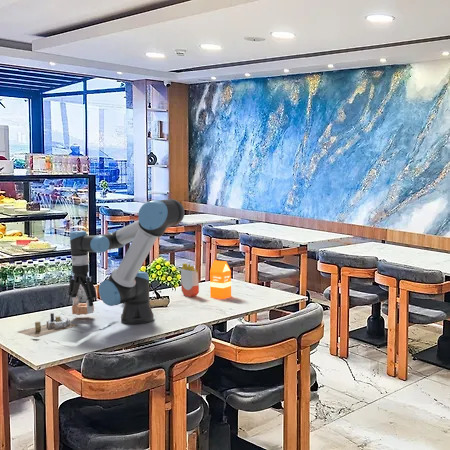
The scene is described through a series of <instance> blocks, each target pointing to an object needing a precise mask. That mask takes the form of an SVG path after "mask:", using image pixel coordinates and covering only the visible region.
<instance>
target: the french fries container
mask: <svg viewBox="0 0 450 450" xmlns="http://www.w3.org/2000/svg"><path fill="white" fill-rule="evenodd" d="M180 274H181V275H180V276H181V277H180V279H181V284H180V286H181V287H180V289H181V292H182V294H183V295H185V297H189V298H192V297H197V295H198V294H199V292H200V290H199V289H200V285H199V269H195V266H194V265H191V264H188V263H182V267H181V268H180Z"/></svg>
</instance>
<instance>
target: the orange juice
mask: <svg viewBox="0 0 450 450" xmlns="http://www.w3.org/2000/svg"><path fill="white" fill-rule="evenodd" d="M209 283H210V284H209V287H210V291H209V293H210V298H213V299H219V300H220V299H221V300H225V299H228V298H232V270H231V268H230V266H229V264H228V261H227V260H226V261H225V260H215V259H214V260H213V262H212V264H211V266H210V270H209Z"/></svg>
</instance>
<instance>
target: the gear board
mask: <svg viewBox="0 0 450 450" xmlns="http://www.w3.org/2000/svg"><path fill="white" fill-rule="evenodd" d="M61 318H62V317H61V316H56V317H55V316H54V319H56V322H58V321H61ZM41 324H42V323H41V321H36V322H34V327H31V328H28V329H23V330H20V331H17V334H18V333H19V334H23V335H26V336H29V337H30V336H31V337H34V338H31V340H32V341H36V342H37V341H40V340H41V339H39V338H38V337H42V336H46V335H50V334H54V333H58V332H60V331H64V330H68V329H71V328H75V327H78V326H79V324H75V323H71V322H70V326H67V327H66V328H59V329H55V328H51V329H49V328H48V327H47V323H46V324H43V325H41ZM36 338H37V339H36Z"/></svg>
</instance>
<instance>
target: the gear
mask: <svg viewBox="0 0 450 450" xmlns="http://www.w3.org/2000/svg"><path fill="white" fill-rule="evenodd" d="M70 323H71V321H70V319H69V318H68V317H65V318H64V317H63V318H62V317H61V321H58V322H56V318H55V314H54V312H50V320H46V324H47V327H48V328H49V329H51V328H55V329H59V328H66V327H67V326H70Z"/></svg>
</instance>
